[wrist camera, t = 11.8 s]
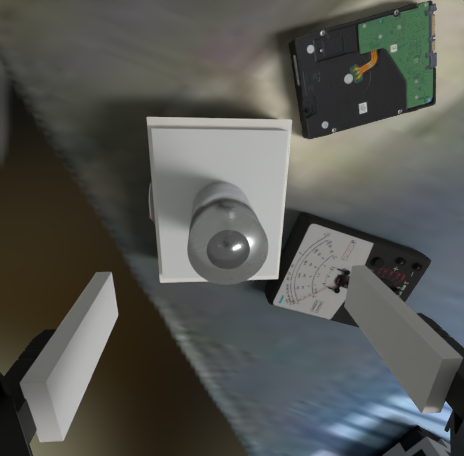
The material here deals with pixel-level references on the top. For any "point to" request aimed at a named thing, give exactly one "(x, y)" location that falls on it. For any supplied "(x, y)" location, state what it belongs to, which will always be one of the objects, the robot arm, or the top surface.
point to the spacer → (225, 235)
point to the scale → (215, 180)
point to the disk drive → (365, 70)
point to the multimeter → (337, 267)
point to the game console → (420, 444)
